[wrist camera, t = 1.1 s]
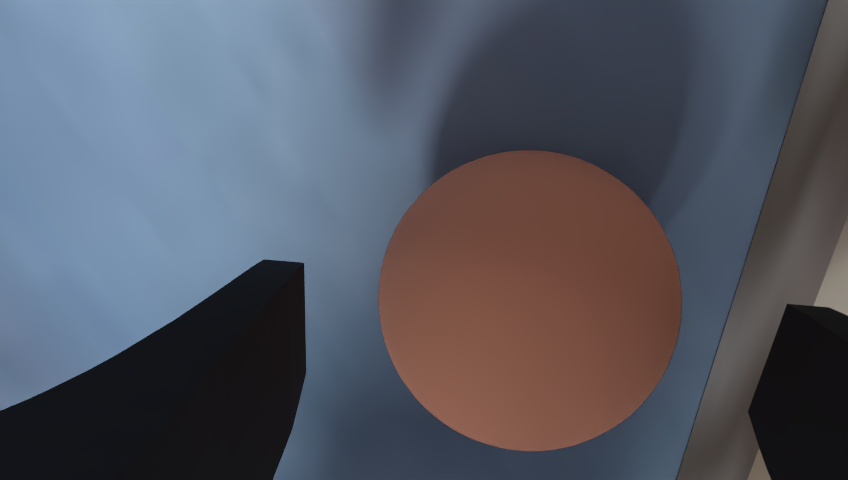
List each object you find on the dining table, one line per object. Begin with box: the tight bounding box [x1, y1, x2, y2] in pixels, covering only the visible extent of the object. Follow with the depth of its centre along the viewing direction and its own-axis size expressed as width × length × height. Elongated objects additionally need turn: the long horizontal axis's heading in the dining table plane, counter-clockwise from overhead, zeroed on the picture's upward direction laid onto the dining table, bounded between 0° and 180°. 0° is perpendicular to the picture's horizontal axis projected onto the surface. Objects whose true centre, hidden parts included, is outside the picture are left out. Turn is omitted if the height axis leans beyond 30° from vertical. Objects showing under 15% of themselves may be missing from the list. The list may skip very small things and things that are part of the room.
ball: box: [378, 150, 682, 451], centre depth 12 cm, size 5×5×5 cm
